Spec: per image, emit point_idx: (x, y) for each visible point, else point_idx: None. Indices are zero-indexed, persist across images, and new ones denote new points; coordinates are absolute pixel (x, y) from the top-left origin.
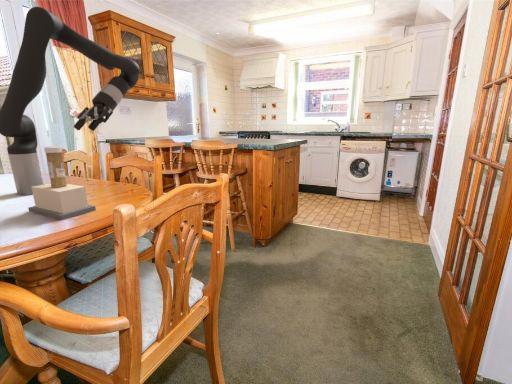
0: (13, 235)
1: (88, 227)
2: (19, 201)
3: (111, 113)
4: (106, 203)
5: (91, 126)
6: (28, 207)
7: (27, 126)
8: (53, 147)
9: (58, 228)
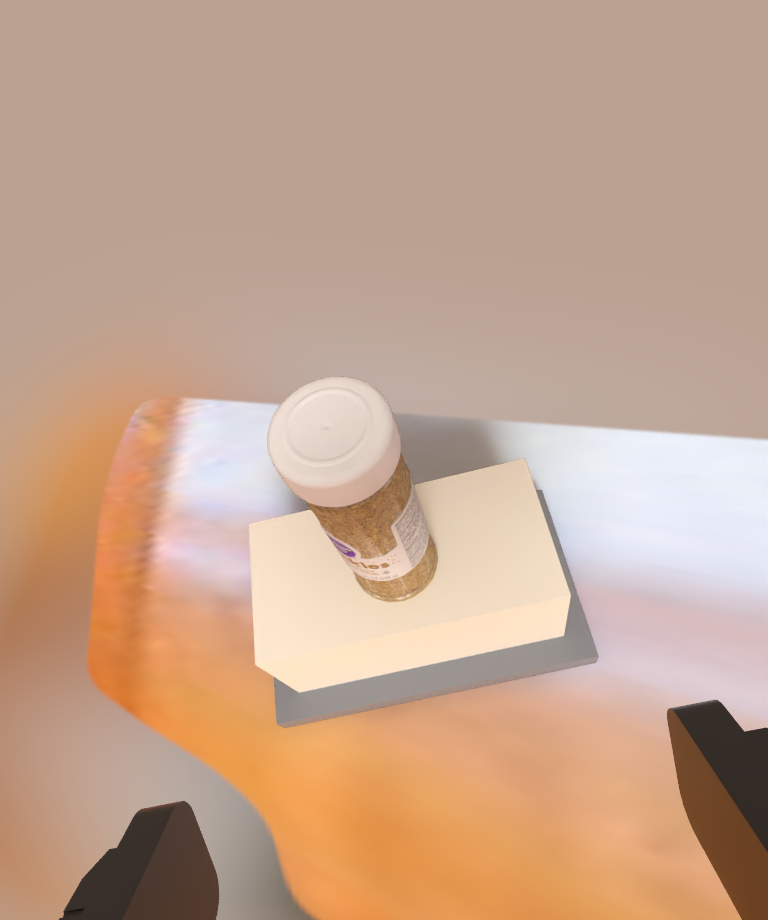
0: (256, 421)
1: (98, 600)
2: None
3: None
4: (368, 850)
5: (112, 851)
6: (539, 490)
7: None
8: (271, 420)
9: (190, 526)
